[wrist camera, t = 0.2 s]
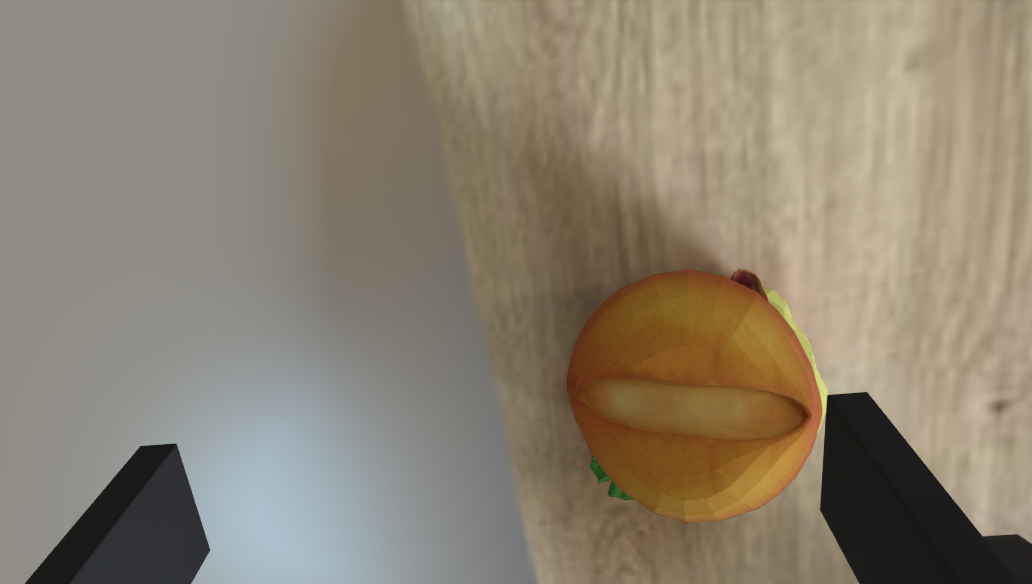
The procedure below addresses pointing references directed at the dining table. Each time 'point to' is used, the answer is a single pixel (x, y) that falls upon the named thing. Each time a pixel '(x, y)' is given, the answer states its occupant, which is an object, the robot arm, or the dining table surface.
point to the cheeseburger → (696, 394)
